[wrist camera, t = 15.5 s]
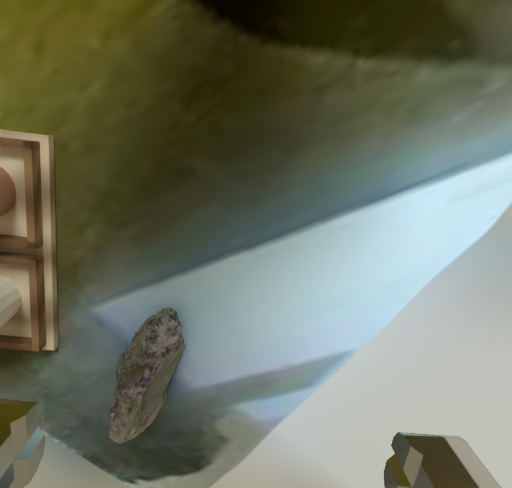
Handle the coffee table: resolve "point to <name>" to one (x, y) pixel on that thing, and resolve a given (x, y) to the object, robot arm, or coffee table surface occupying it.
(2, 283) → the white cylinder
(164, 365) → the mineral rock
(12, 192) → the tan rounded cylinder
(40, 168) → the divided wooden tray
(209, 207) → the coffee table surface
